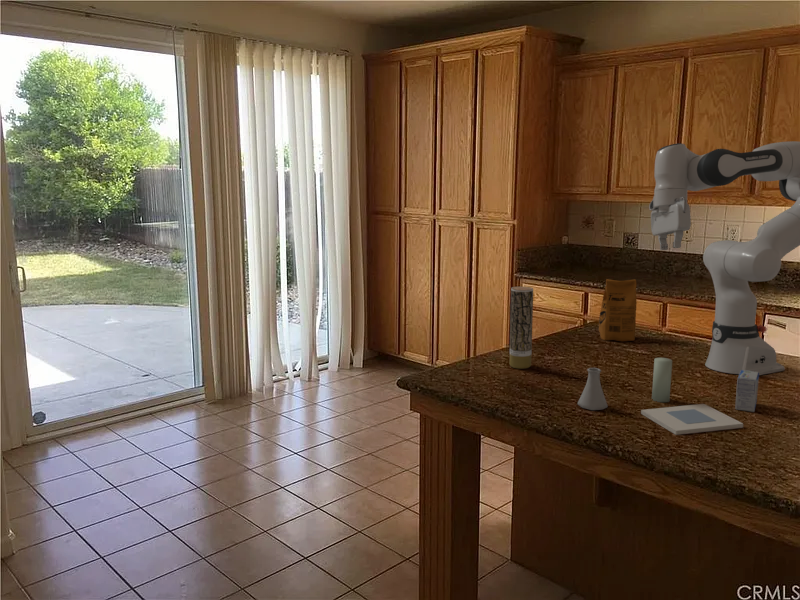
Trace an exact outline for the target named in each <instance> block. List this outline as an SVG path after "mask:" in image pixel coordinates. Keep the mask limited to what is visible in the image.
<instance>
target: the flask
mask: <svg viewBox="0 0 800 600" xmlns="http://www.w3.org/2000/svg"><path fill="white" fill-rule="evenodd" d="M586 370H587V373H588V375H587V380H586V384H585V386H584V389H583V391H582V393H581V395H580V396H579V397H580V398H579V399H578V401H577V405H578V406H580V408H582V409H587V410H589V411H599V410H601V411H602V410H604V409H606V408H608V405H609V404H608V403H607V400H606V397H605V394H604V391H603V387H602V385H601V378H600V373H602V369H600V368H597V367H589V368H587V369H586Z"/></svg>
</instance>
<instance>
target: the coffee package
mask: <svg viewBox="0 0 800 600" xmlns="http://www.w3.org/2000/svg"><path fill="white" fill-rule="evenodd" d="M637 286H638V285H637V279H627V280H616V279H615V280H614V279H609V278H608V279H607V278H606V280H605V287H604V292H603V296H602V301H601V308H600V312H599V319H598V332H599V335H600V339H601V340H602V341H605V342H606V341H609V342H610V341H616V342H633V341H635V338H636V324H637V323H636V321H637V302H638V301H637V299H638V298H637Z"/></svg>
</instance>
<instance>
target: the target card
mask: <svg viewBox="0 0 800 600" xmlns="http://www.w3.org/2000/svg"><path fill="white" fill-rule="evenodd" d="M640 414H641V415H642V416H644V417H646V418H647V419H649V420H650V421H652V422H654V423H655V424H657V425H659V426H661V427H662V428H664V429H666V430H667V431H669V432H670V433H672V434H673V435H675V436H677V435H687V434H688V435H689V434H695V433H704V432H705V433H707V432H714V431H725V430H733V429H742V428H744V423H743V422H741V421H739V420H737V419H735V418H733V417H731V416H728V415H727V414H725V413H723V412H721V411H719V410H717V409H715V408H713V407H711V406H710V405H708V404H705V403H699V404H698V403H697V404H688V405H687V404H686V405H678V406H677V405H676V406H668V407H659V408H656V407H655V408H648V409H640Z"/></svg>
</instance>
